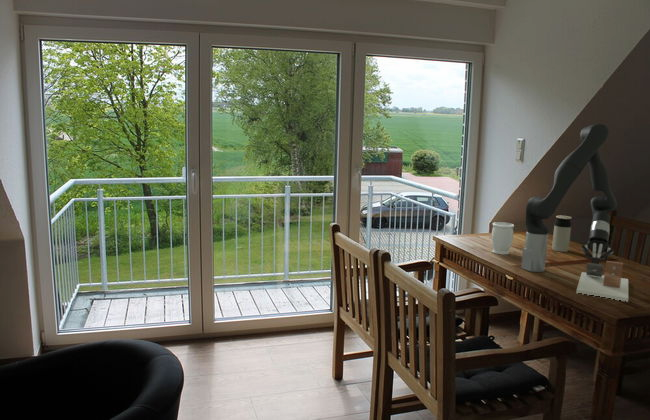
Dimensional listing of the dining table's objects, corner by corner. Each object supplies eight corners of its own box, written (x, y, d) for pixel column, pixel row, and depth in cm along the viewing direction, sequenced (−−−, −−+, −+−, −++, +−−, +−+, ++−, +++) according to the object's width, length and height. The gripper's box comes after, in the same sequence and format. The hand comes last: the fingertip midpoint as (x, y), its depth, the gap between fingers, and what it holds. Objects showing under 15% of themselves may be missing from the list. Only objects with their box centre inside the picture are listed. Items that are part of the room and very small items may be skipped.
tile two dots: (603, 284, 221) (606, 260, 219) (619, 286, 218) (623, 263, 216) (603, 285, 220) (606, 261, 218) (619, 287, 217) (623, 263, 215)
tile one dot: (586, 272, 235) (587, 262, 227) (602, 274, 232) (603, 264, 224) (586, 275, 234) (586, 265, 226) (601, 277, 231) (602, 267, 223)
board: (581, 275, 239) (581, 271, 239) (627, 282, 231) (628, 279, 230) (576, 293, 214) (576, 289, 214) (627, 302, 206) (628, 298, 205)
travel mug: (569, 252, 278) (573, 218, 275) (552, 251, 280) (556, 217, 277) (567, 249, 286) (571, 216, 283) (551, 247, 288) (554, 214, 285)
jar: (504, 256, 267) (507, 227, 264) (485, 252, 275) (488, 223, 272) (515, 253, 274) (518, 224, 271) (497, 249, 282) (499, 221, 279)
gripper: (583, 226, 237) (578, 259, 228) (617, 230, 230) (613, 264, 222) (582, 236, 242) (577, 268, 234) (615, 239, 236) (612, 273, 228)
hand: (595, 266), depth 228 cm, fingers closed
